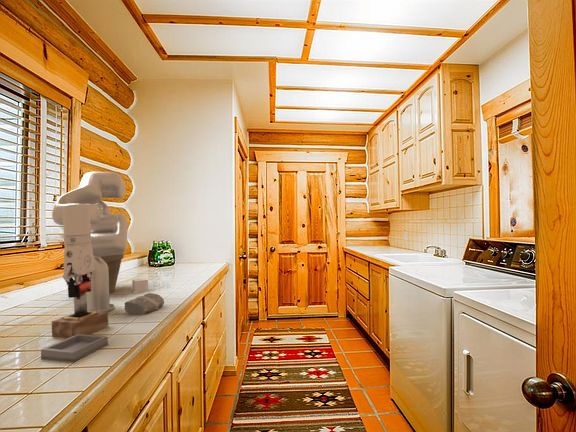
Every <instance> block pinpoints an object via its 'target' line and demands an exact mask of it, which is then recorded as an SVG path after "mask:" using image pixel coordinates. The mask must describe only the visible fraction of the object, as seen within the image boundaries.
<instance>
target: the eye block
mask: <svg viewBox="0 0 576 432" xmlns="http://www.w3.org/2000/svg"><path fill="white" fill-rule="evenodd" d="M108 327H109V311H108V312H98V311H87V315H86V316H83V317H80V318H78V317H75V316H74V313H71V314H68V315H65V316H63V317H61V318H57V319H54V320H52V321H51V337H52V338H64V339H67V338H70V337H72V336H75V335H77V334H85V335H93V334H94V333H96V332H99V331H101V330H103V329H106V328H108Z"/></svg>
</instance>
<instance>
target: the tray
mask: <svg viewBox="0 0 576 432" xmlns="http://www.w3.org/2000/svg"><path fill="white" fill-rule="evenodd" d="M108 337H109V336H108V335H95V334H90V335H85V334H77V335H75V336H72V337H70V338H64V339H63V340H61V341H58V342H56V343H53V344H51V345H49V346H46V347H44V348H43V347H42V348H41V349H40V358H41V360H46V361H47V360H48V361H55V362H57V361H58V362H65V363H75V362H78V361H79V360H81V359H82V358H85V357H87V356H89V355H90V354H93V353H95V352H96V351H99V350H101V349H103V348H105V347H107V346H108V345H109V338H108Z"/></svg>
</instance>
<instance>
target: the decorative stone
mask: <svg viewBox="0 0 576 432" xmlns="http://www.w3.org/2000/svg"><path fill="white" fill-rule="evenodd" d="M164 303H165V299H164V298H163V297H162V296H161V295H160V294H158V293H150V292H149V293H146V294H144V295H139V296H137V297H135V298H133V299H129V300H128V301H125V302H124V311H125V313H126V314H127V315H128V316H144V315H147V314H150V313H153V312H155V311H158V310H160V309H161V308H162V307H163V306H164Z"/></svg>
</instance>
